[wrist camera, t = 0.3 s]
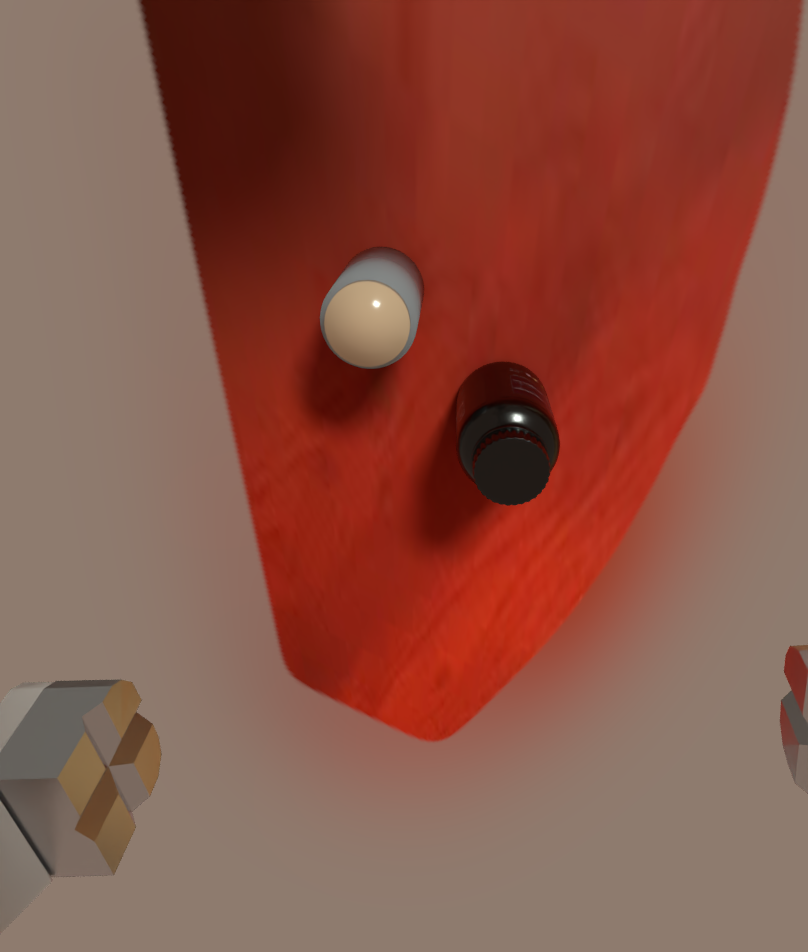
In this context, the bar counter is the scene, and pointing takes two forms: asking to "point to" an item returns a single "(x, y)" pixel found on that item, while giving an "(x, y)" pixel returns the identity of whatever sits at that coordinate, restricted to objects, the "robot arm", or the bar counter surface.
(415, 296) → the sugar jar
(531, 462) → the supplement bottle
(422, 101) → the bar counter surface
